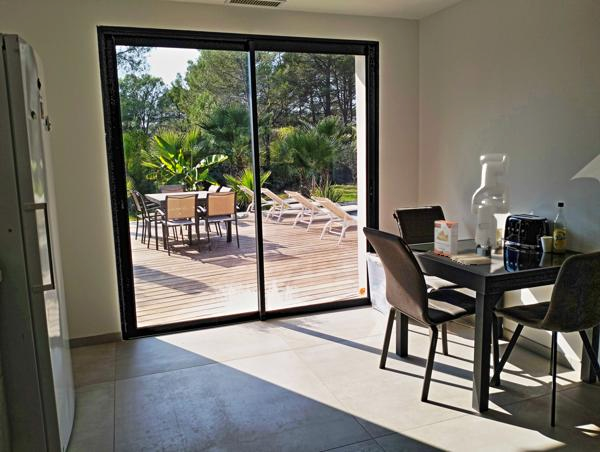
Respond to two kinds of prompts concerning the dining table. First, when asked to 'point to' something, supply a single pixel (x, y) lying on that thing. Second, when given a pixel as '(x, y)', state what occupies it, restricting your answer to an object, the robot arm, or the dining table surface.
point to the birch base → (470, 259)
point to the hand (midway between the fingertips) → (483, 254)
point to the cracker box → (446, 238)
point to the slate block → (481, 251)
